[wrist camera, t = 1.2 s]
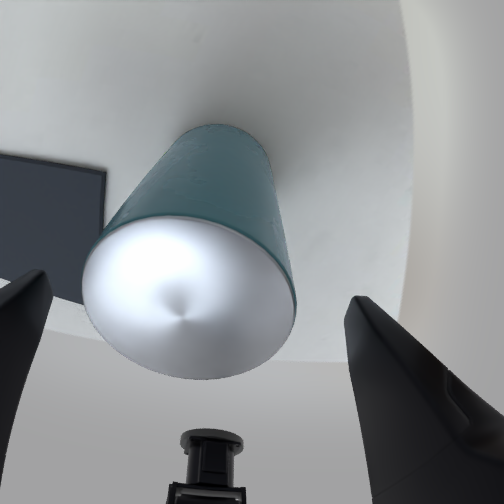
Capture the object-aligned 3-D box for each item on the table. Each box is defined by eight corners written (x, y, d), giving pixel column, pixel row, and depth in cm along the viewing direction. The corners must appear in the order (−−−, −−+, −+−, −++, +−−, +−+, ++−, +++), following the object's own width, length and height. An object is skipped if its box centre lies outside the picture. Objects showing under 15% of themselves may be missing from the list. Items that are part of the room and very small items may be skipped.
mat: (103, 304, 21) (101, 310, 20) (-1, 271, 19) (-5, 276, 19) (106, 171, 16) (102, 175, 15) (-18, 151, 14) (-23, 154, 14)
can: (254, 234, 18) (259, 392, 10) (156, 212, 17) (87, 356, 9) (284, 139, 15) (334, 249, 7) (174, 113, 14) (74, 190, 6)
